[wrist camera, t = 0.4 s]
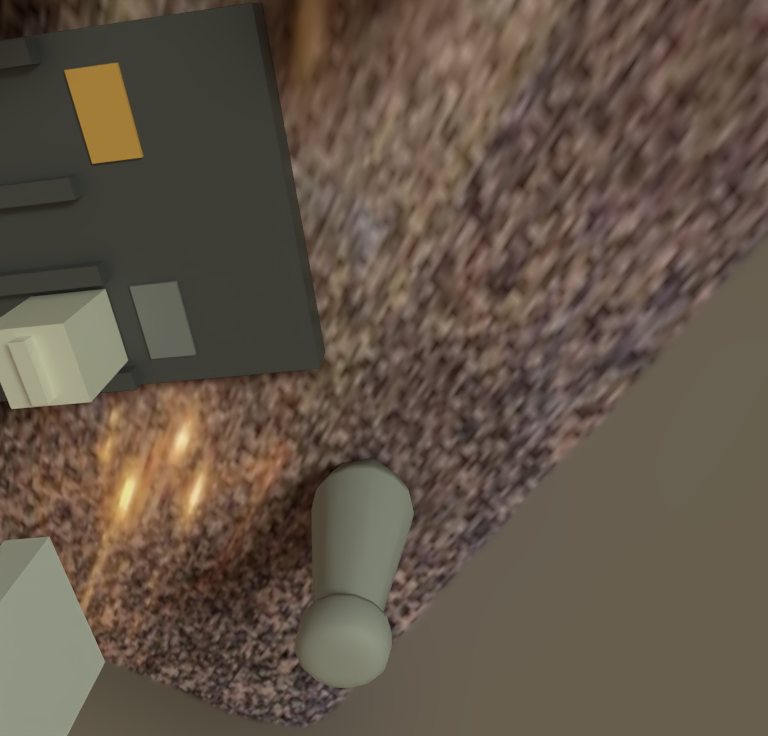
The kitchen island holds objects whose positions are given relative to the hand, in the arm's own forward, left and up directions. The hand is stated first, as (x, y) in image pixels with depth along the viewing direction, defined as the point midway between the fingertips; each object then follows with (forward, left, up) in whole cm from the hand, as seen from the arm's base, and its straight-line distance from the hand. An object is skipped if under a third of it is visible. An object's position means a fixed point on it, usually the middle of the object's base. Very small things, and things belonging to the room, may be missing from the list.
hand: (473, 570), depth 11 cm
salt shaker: (+17, -6, -26) cm, 32 cm away
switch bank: (-1, -21, -26) cm, 34 cm away
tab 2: (+4, -19, -24) cm, 31 cm away
